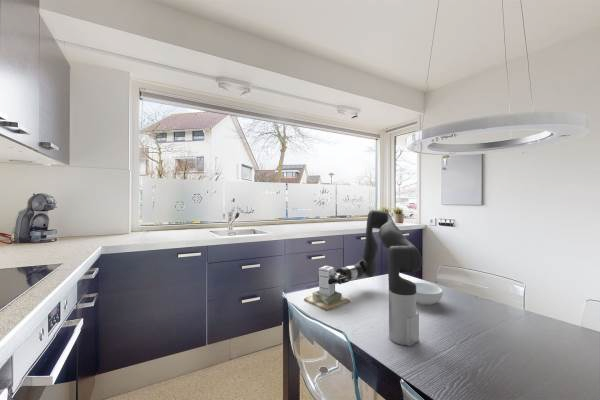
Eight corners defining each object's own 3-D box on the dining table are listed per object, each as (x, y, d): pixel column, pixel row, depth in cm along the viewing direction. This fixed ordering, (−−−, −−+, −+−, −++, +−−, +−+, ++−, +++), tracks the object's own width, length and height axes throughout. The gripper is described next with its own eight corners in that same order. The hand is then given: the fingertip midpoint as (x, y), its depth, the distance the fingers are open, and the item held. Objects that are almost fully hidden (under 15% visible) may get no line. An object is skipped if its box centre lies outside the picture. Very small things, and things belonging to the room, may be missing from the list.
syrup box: (329, 299, 126) (328, 269, 126) (319, 297, 130) (318, 267, 130) (335, 296, 131) (334, 266, 130) (325, 293, 134) (324, 265, 134)
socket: (350, 301, 129) (350, 293, 129) (326, 310, 119) (326, 302, 119) (327, 292, 141) (327, 285, 141) (304, 300, 132) (304, 292, 132)
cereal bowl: (451, 307, 122) (451, 291, 122) (419, 311, 118) (419, 295, 118) (425, 294, 138) (425, 280, 138) (397, 297, 134) (397, 283, 134)
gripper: (336, 264, 144) (313, 269, 134) (357, 269, 133) (333, 276, 123) (336, 277, 145) (313, 284, 134) (357, 284, 133) (334, 292, 123)
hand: (323, 280), depth 129 cm, fingers closed on syrup box, 6 cm apart
